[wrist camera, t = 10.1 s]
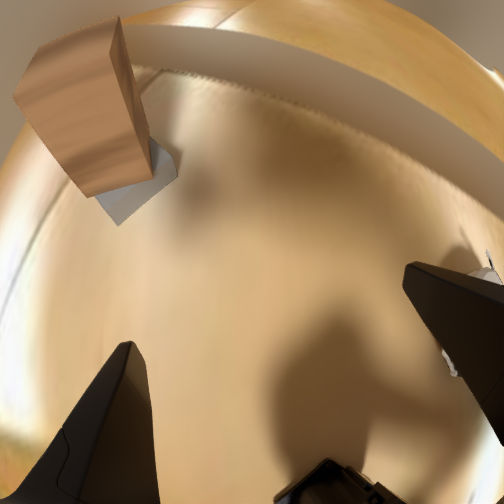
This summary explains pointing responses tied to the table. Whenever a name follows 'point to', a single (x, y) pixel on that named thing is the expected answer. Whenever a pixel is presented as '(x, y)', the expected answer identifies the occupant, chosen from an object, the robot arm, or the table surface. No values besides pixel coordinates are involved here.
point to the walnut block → (89, 108)
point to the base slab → (139, 187)
